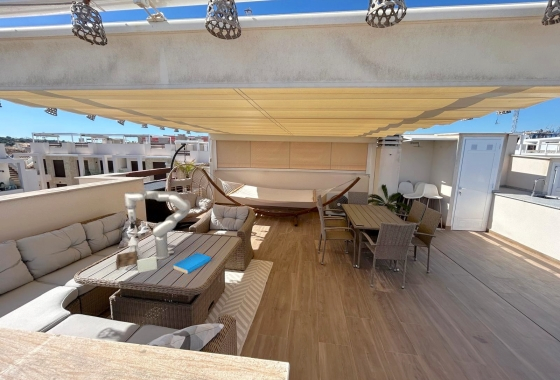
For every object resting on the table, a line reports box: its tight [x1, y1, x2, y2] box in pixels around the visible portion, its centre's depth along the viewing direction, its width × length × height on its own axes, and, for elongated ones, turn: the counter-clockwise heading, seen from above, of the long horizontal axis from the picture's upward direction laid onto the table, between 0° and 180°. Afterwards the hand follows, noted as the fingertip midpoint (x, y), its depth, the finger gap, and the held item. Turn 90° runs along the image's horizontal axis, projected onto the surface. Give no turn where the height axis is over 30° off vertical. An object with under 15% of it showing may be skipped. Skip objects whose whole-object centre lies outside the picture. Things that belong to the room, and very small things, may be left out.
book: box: [172, 252, 212, 274], centre depth 189 cm, size 17×4×25 cm
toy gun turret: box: [125, 234, 144, 256], centre depth 202 cm, size 12×13×18 cm
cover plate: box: [136, 255, 158, 274], centre depth 178 cm, size 13×2×10 cm, turn 122°
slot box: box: [115, 251, 139, 271], centre depth 187 cm, size 14×15×7 cm
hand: (132, 226), depth 189 cm, fingers open, 9 cm apart
